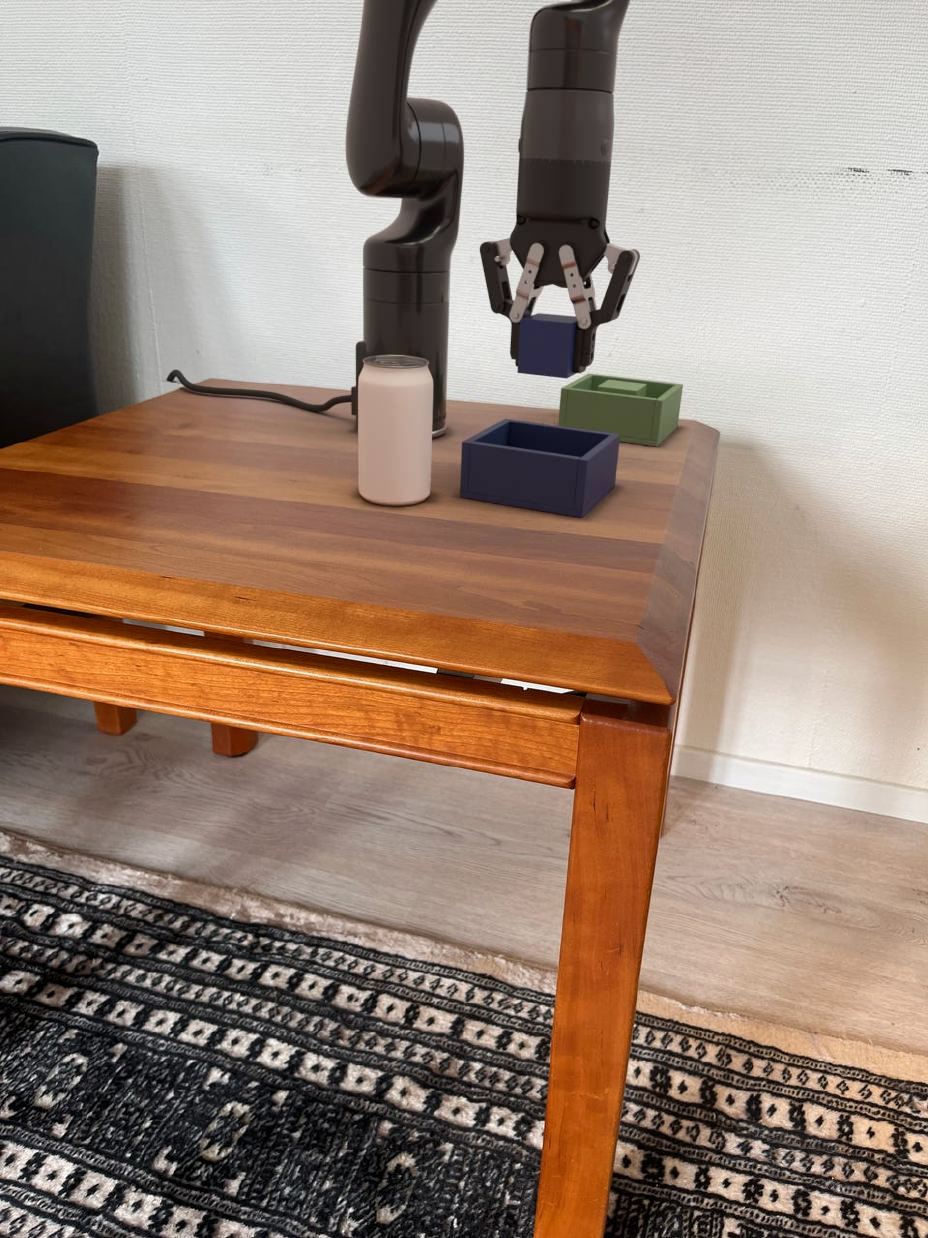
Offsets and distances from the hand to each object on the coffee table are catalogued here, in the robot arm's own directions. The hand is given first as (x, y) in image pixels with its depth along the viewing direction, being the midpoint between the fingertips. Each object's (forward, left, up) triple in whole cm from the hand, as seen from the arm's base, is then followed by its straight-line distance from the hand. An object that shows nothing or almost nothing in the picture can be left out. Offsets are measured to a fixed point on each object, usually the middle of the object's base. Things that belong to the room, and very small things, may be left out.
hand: (550, 367), depth 87 cm
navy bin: (0, 0, -11) cm, 11 cm away
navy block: (0, 0, 0) cm, 0 cm away
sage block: (0, +28, -11) cm, 30 cm away
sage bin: (0, +28, -11) cm, 30 cm away
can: (-11, -8, -12) cm, 18 cm away
